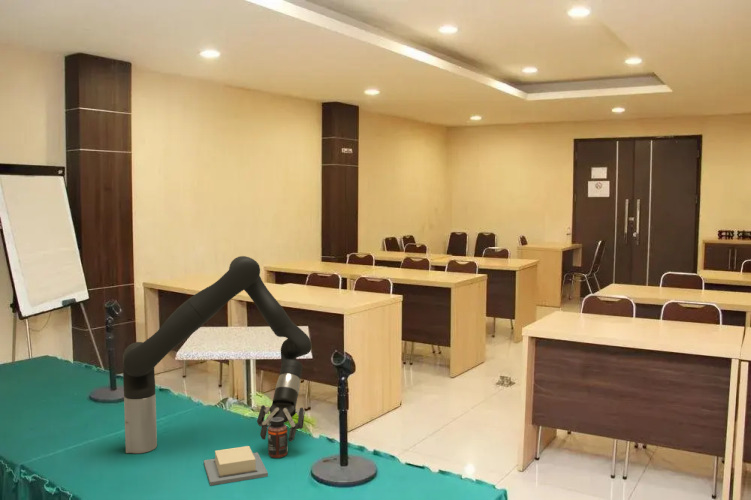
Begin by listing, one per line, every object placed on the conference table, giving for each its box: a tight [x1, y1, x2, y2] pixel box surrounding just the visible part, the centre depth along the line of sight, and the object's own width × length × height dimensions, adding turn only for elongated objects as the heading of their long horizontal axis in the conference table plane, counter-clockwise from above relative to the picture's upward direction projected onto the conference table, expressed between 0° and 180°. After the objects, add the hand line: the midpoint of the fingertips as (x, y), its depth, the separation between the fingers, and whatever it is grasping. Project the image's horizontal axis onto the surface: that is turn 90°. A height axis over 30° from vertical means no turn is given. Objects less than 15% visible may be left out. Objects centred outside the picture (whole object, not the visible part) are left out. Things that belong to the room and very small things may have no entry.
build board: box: [203, 445, 269, 486], centre depth 184 cm, size 16×15×4 cm
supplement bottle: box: [267, 417, 289, 459], centre depth 195 cm, size 6×6×11 cm
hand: (276, 439), depth 193 cm, fingers open, 8 cm apart
